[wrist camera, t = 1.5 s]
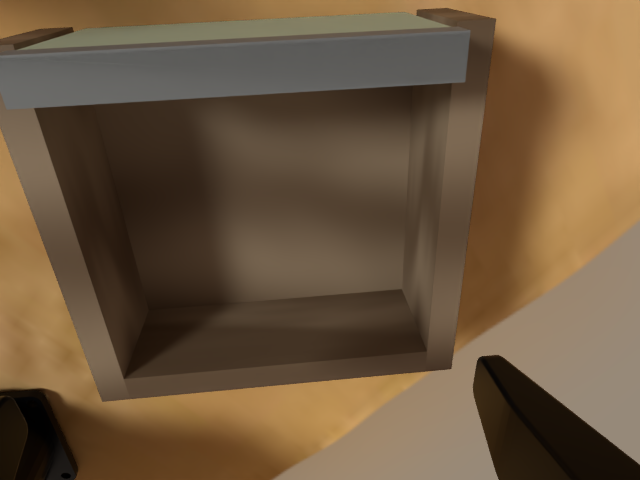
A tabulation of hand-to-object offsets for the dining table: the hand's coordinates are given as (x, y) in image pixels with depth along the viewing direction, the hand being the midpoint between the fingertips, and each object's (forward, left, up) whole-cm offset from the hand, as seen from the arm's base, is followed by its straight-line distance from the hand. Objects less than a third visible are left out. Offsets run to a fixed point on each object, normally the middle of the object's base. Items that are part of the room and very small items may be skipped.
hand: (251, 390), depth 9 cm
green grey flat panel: (+6, 0, -10) cm, 12 cm away
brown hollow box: (0, 0, -11) cm, 11 cm away
